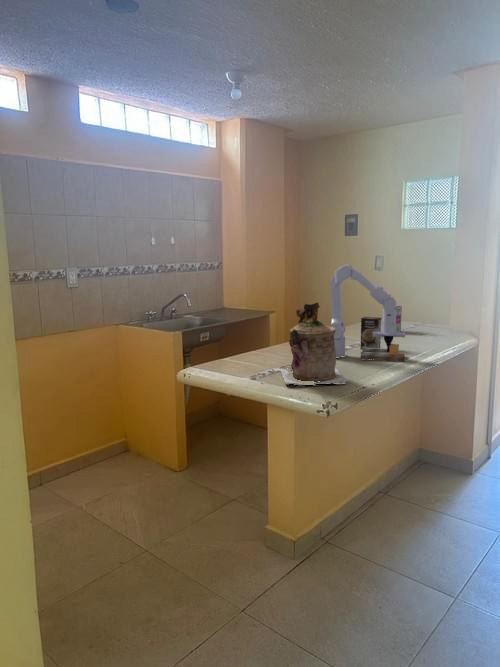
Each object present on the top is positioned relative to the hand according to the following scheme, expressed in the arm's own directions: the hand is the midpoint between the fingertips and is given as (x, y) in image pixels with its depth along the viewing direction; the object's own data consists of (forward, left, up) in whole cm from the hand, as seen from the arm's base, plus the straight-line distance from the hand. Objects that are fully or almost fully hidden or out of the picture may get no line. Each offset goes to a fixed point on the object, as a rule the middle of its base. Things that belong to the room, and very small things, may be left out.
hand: (388, 351), depth 231 cm
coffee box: (+10, +19, -3) cm, 22 cm away
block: (+2, -2, -1) cm, 3 cm away
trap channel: (-2, +2, -3) cm, 4 cm away
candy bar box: (+52, +39, -3) cm, 65 cm away
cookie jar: (-49, -1, -3) cm, 49 cm away
